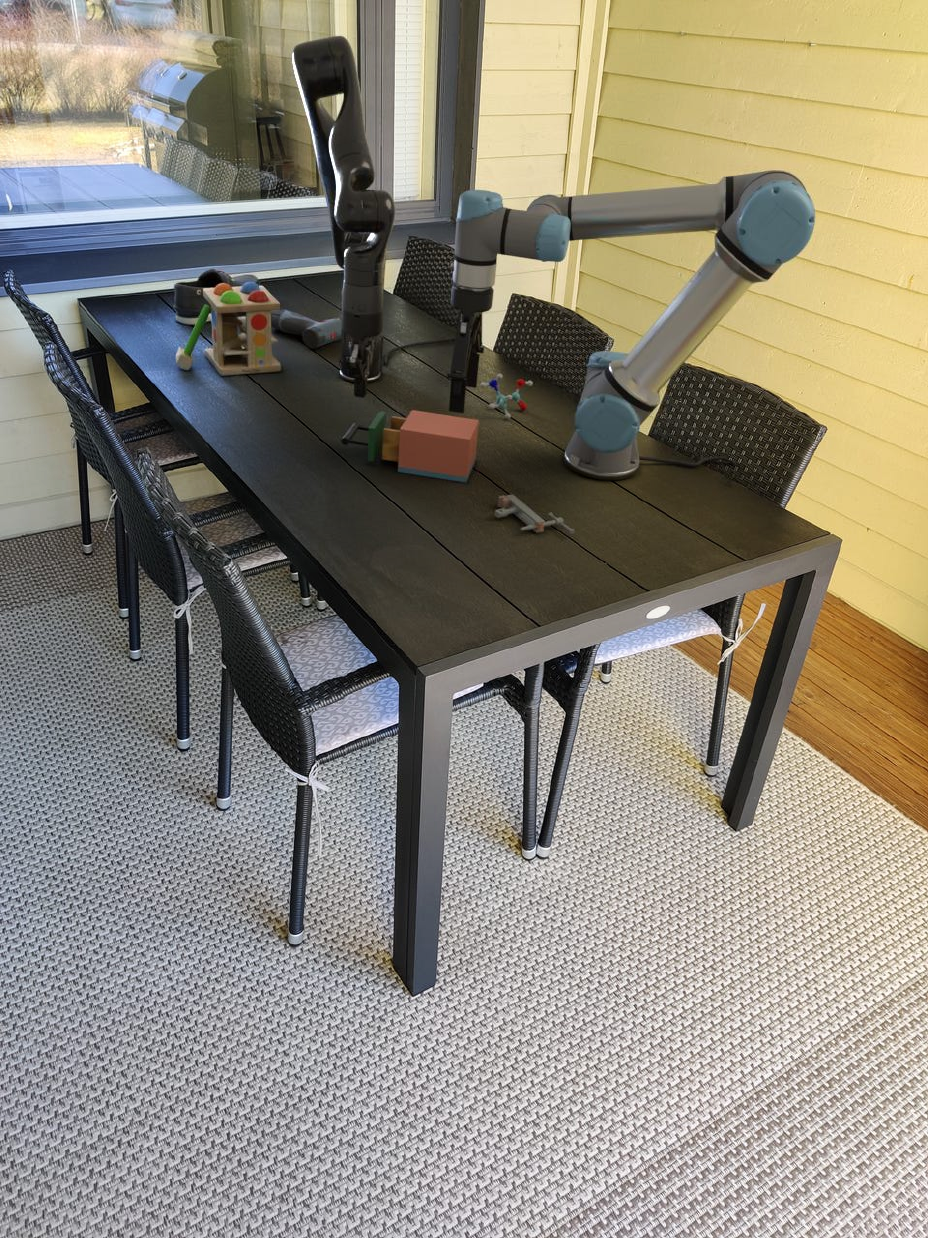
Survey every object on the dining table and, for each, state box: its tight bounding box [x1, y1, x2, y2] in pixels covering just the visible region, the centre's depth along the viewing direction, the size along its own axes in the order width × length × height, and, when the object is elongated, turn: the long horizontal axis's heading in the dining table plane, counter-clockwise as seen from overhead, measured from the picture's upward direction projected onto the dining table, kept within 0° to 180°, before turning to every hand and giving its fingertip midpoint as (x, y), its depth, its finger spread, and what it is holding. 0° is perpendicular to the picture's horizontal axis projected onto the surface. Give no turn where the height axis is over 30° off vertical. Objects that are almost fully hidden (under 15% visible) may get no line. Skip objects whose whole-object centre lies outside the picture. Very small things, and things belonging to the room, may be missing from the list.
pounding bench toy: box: [174, 282, 282, 377], centre depth 225 cm, size 23×14×18 cm, turn 116°
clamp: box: [494, 494, 575, 535], centre depth 178 cm, size 15×2×10 cm
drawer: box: [340, 410, 407, 462], centre depth 193 cm, size 18×9×7 cm, turn 79°
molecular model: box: [480, 373, 533, 420], centre depth 219 cm, size 12×10×10 cm
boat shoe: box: [173, 268, 262, 325], centre depth 261 cm, size 13×33×10 cm, turn 147°
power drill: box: [271, 308, 341, 349], centre depth 252 cm, size 5×19×20 cm
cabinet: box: [397, 409, 480, 483], centre depth 192 cm, size 14×10×9 cm
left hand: (360, 395), depth 190 cm, fingers closed
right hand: (463, 398), depth 186 cm, fingers open, 13 cm apart
